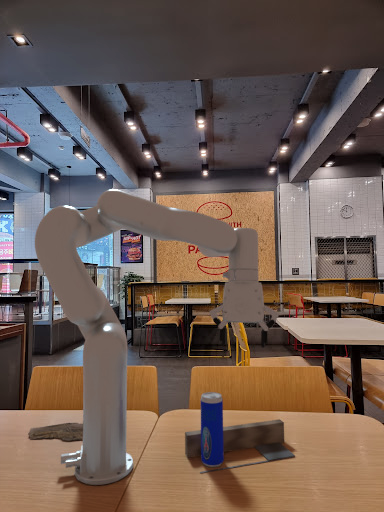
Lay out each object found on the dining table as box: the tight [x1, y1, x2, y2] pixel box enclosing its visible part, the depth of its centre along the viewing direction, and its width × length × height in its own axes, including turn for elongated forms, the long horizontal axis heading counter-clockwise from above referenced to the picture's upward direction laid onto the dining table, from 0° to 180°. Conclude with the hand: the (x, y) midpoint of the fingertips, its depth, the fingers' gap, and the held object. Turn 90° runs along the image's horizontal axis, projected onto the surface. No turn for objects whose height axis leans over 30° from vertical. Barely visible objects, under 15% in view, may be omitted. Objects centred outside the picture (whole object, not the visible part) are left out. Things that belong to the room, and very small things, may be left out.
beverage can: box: [200, 391, 225, 468], centre depth 78 cm, size 5×5×15 cm
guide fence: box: [184, 419, 296, 474], centre depth 81 cm, size 26×9×5 cm, turn 106°
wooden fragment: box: [27, 422, 83, 442], centre depth 93 cm, size 26×11×1 cm, turn 83°
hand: (243, 345), depth 84 cm, fingers open, 9 cm apart
